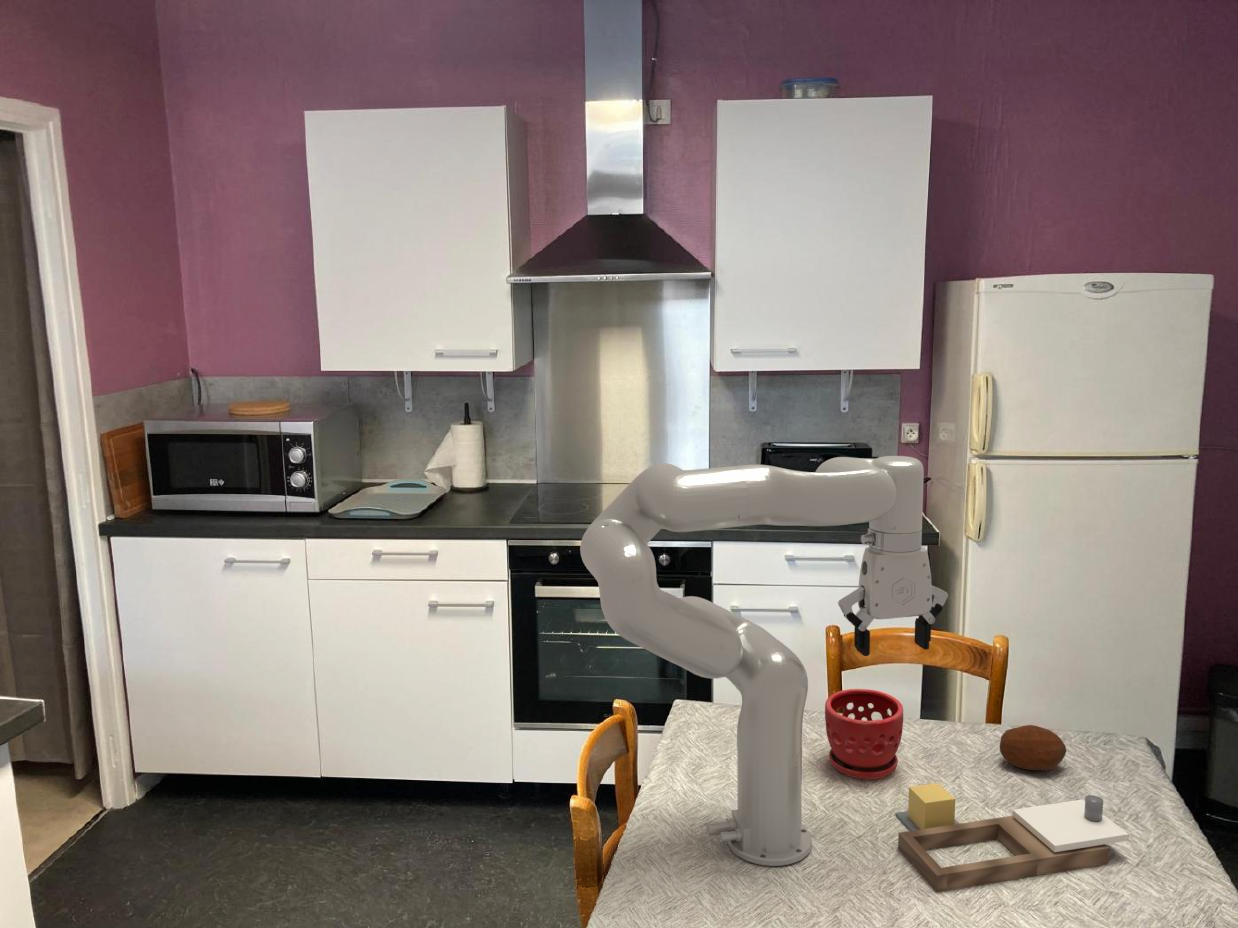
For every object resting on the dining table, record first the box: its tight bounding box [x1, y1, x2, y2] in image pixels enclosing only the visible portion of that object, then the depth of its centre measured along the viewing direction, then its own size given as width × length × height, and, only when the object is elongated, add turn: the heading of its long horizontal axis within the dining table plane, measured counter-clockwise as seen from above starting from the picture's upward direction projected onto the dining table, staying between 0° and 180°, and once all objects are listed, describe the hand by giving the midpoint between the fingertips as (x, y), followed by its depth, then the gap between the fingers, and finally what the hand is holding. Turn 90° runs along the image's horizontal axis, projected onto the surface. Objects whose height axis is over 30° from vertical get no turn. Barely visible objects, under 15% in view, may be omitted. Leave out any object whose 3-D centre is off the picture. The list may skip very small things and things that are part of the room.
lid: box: [1011, 794, 1130, 852], centre depth 143 cm, size 12×10×4 cm
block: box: [907, 782, 956, 829], centre depth 150 cm, size 5×5×5 cm
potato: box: [999, 724, 1067, 771], centre depth 167 cm, size 8×11×8 cm
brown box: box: [897, 815, 1110, 893], centre depth 142 cm, size 27×11×2 cm, turn 102°
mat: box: [894, 810, 960, 831], centre depth 150 cm, size 8×8×1 cm
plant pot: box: [824, 688, 904, 780], centre depth 168 cm, size 13×13×12 cm
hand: (892, 649), depth 147 cm, fingers open, 9 cm apart
